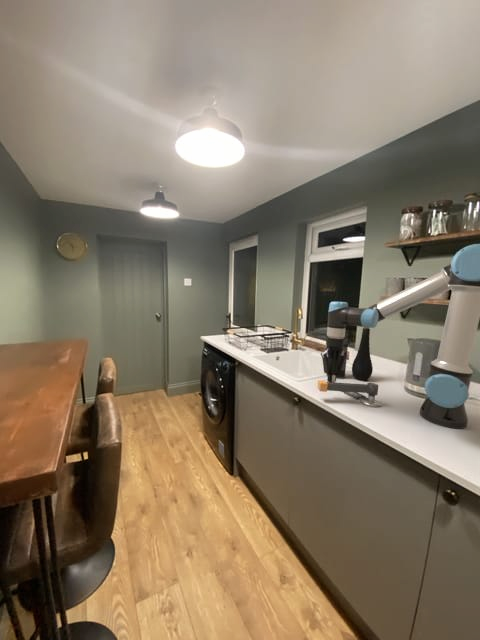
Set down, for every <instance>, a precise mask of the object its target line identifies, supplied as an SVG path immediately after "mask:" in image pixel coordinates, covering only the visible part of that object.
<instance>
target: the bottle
mask: <svg viewBox="0 0 480 640" xmlns="http://www.w3.org/2000/svg"><path fill="white" fill-rule="evenodd" d="M370 331H371V329H370V328H365V327H362V332H361V338H360V343H359V346H358V350H357V354H356V355H355V358H354V360H353V362H352V364H351V365H352V366H351V372H352V376H353V379H354V380H357V381H360V382H368V381H369V379H370V378H371V377H372V375H373V371H374V370H373V367H374V366H373V363H372V359H371V352H370V334H371V333H370Z"/></svg>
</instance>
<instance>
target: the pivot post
mask: <svg viewBox="0 0 480 640" xmlns="http://www.w3.org/2000/svg"><path fill="white" fill-rule="evenodd" d="M367 395H368V396H367V398H362V399H360V403H361V404H363V405H365V406H367V407H371V408H380V407H382V402H381V401H380V400H377V399H376V395H370V394H367Z"/></svg>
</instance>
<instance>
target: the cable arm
mask: <svg viewBox="0 0 480 640" xmlns="http://www.w3.org/2000/svg"><path fill="white" fill-rule="evenodd" d="M317 389H318V391H319V392H323V393H327V392H328V391H333V392H334V391H335V392H341V391H343V392H342V393H344V392H357V393H359V394H361V393H362V394H367V395H368V394H370V395H375V396H378V394H379V384H377V383H374V382H367V384H365V383H352V382H351V383H350V382H349V383H348V382H328V381H326V380H323V379H322V380H320V379H319V380H318V381H317Z"/></svg>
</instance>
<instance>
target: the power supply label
mask: <svg viewBox="0 0 480 640" xmlns="http://www.w3.org/2000/svg"><path fill="white" fill-rule="evenodd" d="M343 394H345V395H347V396H349V397H351V398H352V399H354V400H361V399H362V398H368V396H366V395H364V394H363V393H362V394H361V393H359V392H343Z"/></svg>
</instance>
